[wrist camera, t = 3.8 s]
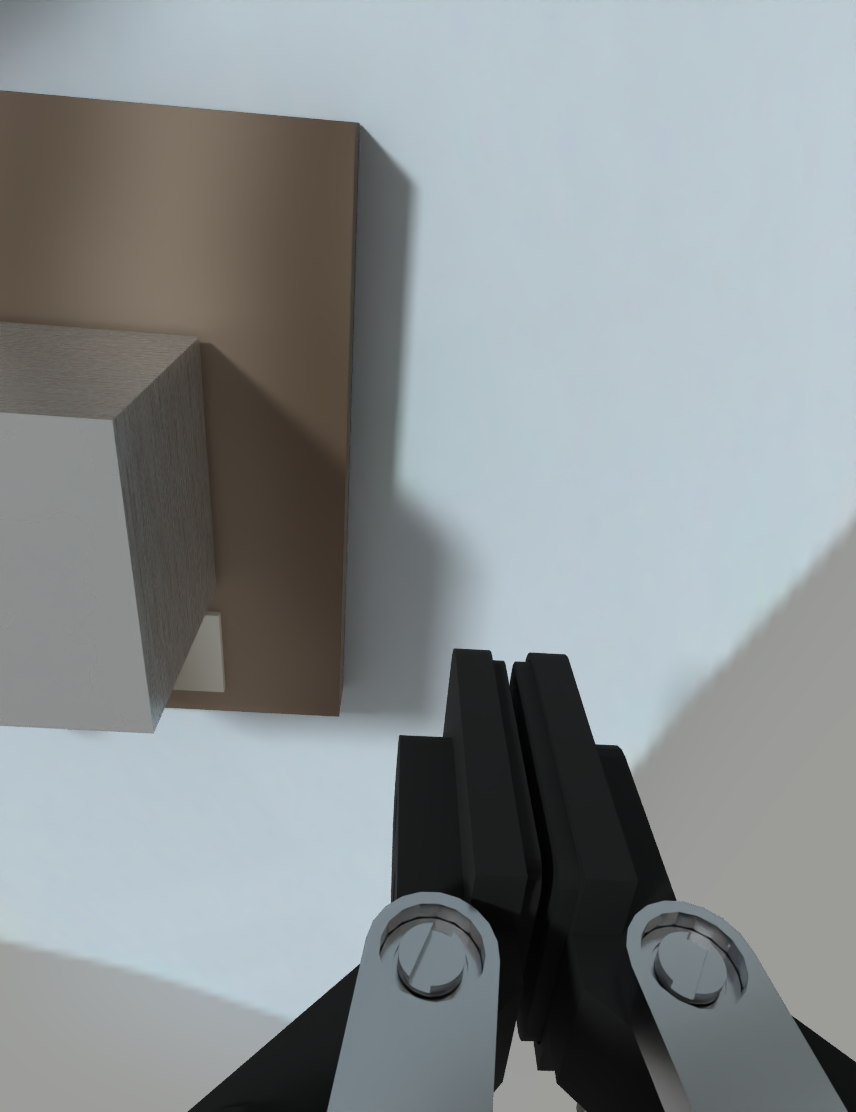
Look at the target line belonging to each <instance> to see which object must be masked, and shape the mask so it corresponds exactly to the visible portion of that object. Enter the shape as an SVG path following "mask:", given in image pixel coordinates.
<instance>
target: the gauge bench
mask: <svg viewBox="0 0 856 1112" xmlns="http://www.w3.org/2000/svg"><path fill="white" fill-rule="evenodd" d="M359 125H360V123H354V122H343V121H332V120H321V119H310V118H299V117H288V116H277V115H266V114H255V113H244V112H233V111H221V110H210V109H199V108H188V107H177V106H166V105H155V104H144V103H133V102H122V101H111V100H100V99H89V98H78V97H67V96H56V95H44V94H33V93H22V92H11V91H0V322H10V323H23V324H36V325H50V326H63V327H76V328H89V329H102V330H116V331H129V332H142V333H155V334H168V335H181V336H195V337H199V340H200V354H201V369H202V383H203V398H204V412H205V427H206V441H207V456H208V470H209V485H210V499H211V514H212V528H213V543H214V557H215V572H216V586H217V589H216V591H215V594H214V596H213V598H212V600H211V603H210V605H209V607H208V610H207V612H206V614H205V617H204V619H203V621H202V623H201V626H200V628H199V630H198V633H197V635H196V637H195V640H194V642H193V644H192V646H191V649H190V651H189V653H188V656H187V658H186V660H185V662H184V665H183V667H182V669H181V672H180V674H179V676H178V679H177V681H176V683H175V685H174V688H173V690H172V692H171V695H170V697H169V699H168V701H167V704H166V706H165V708H185V709H204V710H223V711H242V712H262V713H281V714H300V715H320V716H339V712H340V705H341V697H342V690H343V663H344V629H345V596H346V562H347V528H348V495H349V461H350V428H351V394H352V360H353V327H354V293H355V260H356V226H357V192H358V159H359Z"/></svg>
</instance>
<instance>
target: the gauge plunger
mask: <svg viewBox="0 0 856 1112" xmlns="http://www.w3.org/2000/svg"><path fill="white" fill-rule="evenodd" d="M216 589H217V586H216V572H215V557H214V543H213V528H212V514H211V499H210V485H209V470H208V456H207V441H206V427H205V412H204V398H203V383H202V369H201V354H200V340H199V337H195V336H181V335H168V334H155V333H142V332H129V331H116V330H102V329H89V328H76V327H63V326H50V325H36V324H23V323H10V322H0V726H16V727H36V728H56V729H76V730H96V731H116V732H136V733H154V731H155V729H156V727H157V724H158V722H159V720H160V718H161V715H162V713H163V711H164V708H165V706H166V704H167V701H168V699H169V697H170V695H171V692H172V690H173V688H174V685H175V683H176V681H177V679H178V676H179V674H180V672H181V669H182V667H183V665H184V662H185V660H186V658H187V656H188V653H189V651H190V649H191V646H192V644H193V642H194V640H195V637H196V635H197V633H198V630H199V628H200V626H201V623H202V621H203V619H204V617H205V614H206V612H207V610H208V607H209V605H210V603H211V600H212V598H213V596H214V594H215V591H216Z"/></svg>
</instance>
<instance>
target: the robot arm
mask: <svg viewBox="0 0 856 1112" xmlns="http://www.w3.org/2000/svg"><path fill="white" fill-rule="evenodd" d="M516 1020H517V1027H518V1034H519V1037H520V1039H521V1041H534V1047H535V1055H536V1062H537V1069H538V1070H541V1071H555V1075H556V1082H557V1084H558V1085H559V1086H560V1087H561V1088H563V1089H564V1090H565V1091H566V1092H567V1093H568V1094H569V1095H570V1096H571V1097H572V1098H573V1099H574V1100H575V1101H576V1102H577V1106H576V1109H577V1112H856V1062H855V1061H853V1060H852V1059H851V1058H849V1057H848V1056H847V1055H845V1054H844V1053H842V1052H841V1051H840V1050H838V1049H837V1048H836V1047H834V1046H833V1045H831V1044H830V1043H829V1042H827V1041H826V1040H824V1039H823V1038H822V1037H820V1036H819V1035H818V1034H816V1033H815V1032H813V1031H812V1030H811V1029H809V1028H808V1027H807V1026H805V1025H804V1024H803V1023H801V1022H800V1021H798V1020H797V1019H796V1018H794V1017H793V1016H792V1015H791V1014H790V1012H789V1011H788V1009H787V1007H786V1005H785V1004H784V1002H783V1000H782V999H781V997H780V995H779V993H778V992H777V990H776V988H775V987H774V985H773V983H772V982H771V980H770V978H769V976H768V975H767V973H766V971H765V970H764V968H763V966H762V964H761V963H760V961H759V959H758V958H757V956H756V954H755V953H754V951H753V950H752V948H751V947H750V946H749V944H748V943H747V942H746V940H745V939H744V938H743V936H742V935H741V934H740V933H739V932H738V931H737V930H736V929H735V928H734V927H732V926H731V925H730V924H729V923H728V922H727V921H725V920H724V919H723V918H721V917H720V916H717V915H716V914H714V913H712V912H711V911H709V910H707V909H705V908H703V907H700V906H697V905H694V904H690V903H687V902H683V901H676V898H675V895H674V892H673V890H672V887H671V884H670V881H669V878H668V875H667V873H666V870H665V867H664V864H663V861H662V859H661V856H660V853H659V850H658V847H657V845H656V842H655V839H654V836H653V834H652V831H651V828H650V825H649V822H648V820H647V817H646V814H645V811H644V808H643V805H642V803H641V800H640V797H639V794H638V791H637V789H636V786H635V783H634V780H633V777H632V774H631V772H630V769H629V766H628V763H627V760H626V758H625V756H624V753H623V751H622V749H621V748H619V747H618V746H616V745H595V742H594V739H593V736H592V732H591V729H590V726H589V723H588V720H587V717H586V713H585V710H584V707H583V704H582V701H581V697H580V694H579V691H578V688H577V685H576V681H575V678H574V675H573V672H572V669H571V665H570V662H569V659H568V657H567V656H566V655H565V654H547V653H529V654H528V655H527V658H526V662H514V664H513V668H512V673H511V679H510V686H509V681H508V676H507V670H506V665H505V662H504V661H496V660H493V659H492V654H491V651H490V650H473V649H454V650H453V654H452V661H451V670H450V678H449V687H448V696H447V705H446V714H445V723H444V732H443V737H427V736H406V735H400V736H399V742H398V754H397V767H396V780H395V796H394V817H393V846H392V883H391V903H390V904H389V905H387V906H385V908H384V909H383V910H382V911H381V912H380V913H379V914H378V916H377V917H376V918H375V919H374V920H373V922H372V925H371V927H370V930H369V932H368V934H367V937H366V940H365V945H364V949H363V954H362V958H361V963H360V964H359V965H358V966H357V967H356V968H355V969H353V970H352V971H351V972H350V973H349V974H348V975H346V976H345V977H344V978H343V979H342V980H341V981H339V982H338V983H337V984H336V985H335V986H334V987H332V988H331V989H330V990H329V991H328V992H327V993H325V994H324V995H323V996H322V997H321V998H320V999H318V1000H317V1001H316V1002H315V1003H314V1004H313V1005H311V1006H310V1007H309V1008H308V1009H307V1010H306V1011H304V1012H303V1013H302V1014H301V1015H300V1016H299V1017H297V1018H296V1019H295V1020H294V1021H293V1022H292V1023H290V1024H289V1025H288V1026H287V1027H286V1028H285V1029H284V1030H282V1031H281V1032H280V1033H279V1034H278V1035H277V1036H275V1037H274V1038H273V1039H272V1040H271V1041H270V1042H268V1043H267V1044H266V1045H265V1046H264V1047H263V1048H261V1049H260V1050H259V1051H258V1052H257V1053H256V1054H254V1055H253V1056H252V1057H251V1058H250V1059H249V1060H247V1061H246V1062H245V1063H244V1064H243V1065H242V1066H240V1067H239V1068H238V1069H237V1070H236V1071H235V1072H233V1073H232V1074H231V1075H230V1076H229V1077H228V1078H226V1079H225V1080H224V1081H223V1082H222V1083H221V1084H219V1085H218V1086H217V1087H216V1088H215V1089H214V1090H212V1091H211V1092H210V1093H209V1094H208V1095H207V1096H205V1097H204V1098H203V1099H202V1100H201V1101H200V1102H198V1103H197V1104H196V1105H195V1106H194V1107H193V1108H191V1109H190V1110H189V1111H188V1112H493V1093H494V1092H495V1090H496V1089H497V1088H498V1087H499V1086H500V1084H501V1083H502V1082H503V1078H504V1073H505V1069H506V1064H507V1059H508V1055H509V1050H510V1046H511V1041H512V1037H513V1032H514V1027H515V1023H516Z"/></svg>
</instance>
